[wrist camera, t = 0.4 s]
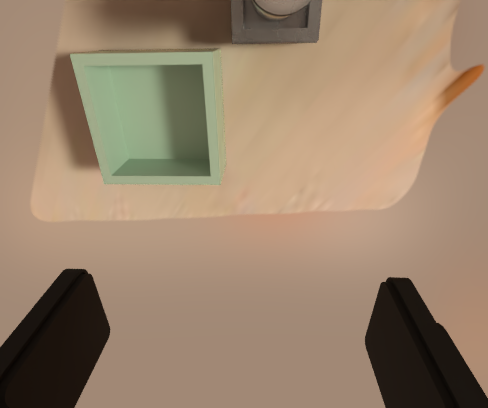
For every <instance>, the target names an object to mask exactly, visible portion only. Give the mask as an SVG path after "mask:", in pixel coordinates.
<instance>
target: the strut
mask: <svg viewBox="0 0 488 408" xmlns="http://www.w3.org/2000/svg"><path fill="white" fill-rule="evenodd" d="M310 2H311V0H252V3H253V6H254V8H255V10H256V11H257V13H258V14H259V15H260V16H261V17H263V18H264V19H266V20H269V21H279V20H283V19H285V18H286V17H288V16H290V15H292V14H295V13H296V12H298V11H300V10H302V9H303V8H304V7H305V6H307V5H308V4H309V3H310Z"/></svg>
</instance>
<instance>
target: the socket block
mask: <svg viewBox="0 0 488 408" xmlns="http://www.w3.org/2000/svg"><path fill="white" fill-rule="evenodd" d="M321 6H322V0H311V2H310V3H309V4H308V5H307V6H305V7H304V8H303V9H302V10H300V11H298V12H296V13H295V14H292V15H290V16H288V17H286V18H285V19H283V20H279V21H269V20H266V19H264V18H263V17H261V16H260V15H259V14H258V13H257V11H256V10H255V8H254V6H253V3H252V0H231V21H232V44H261V43H317V41H318V39H319V28H320V17H321Z"/></svg>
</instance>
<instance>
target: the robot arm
mask: <svg viewBox="0 0 488 408" xmlns="http://www.w3.org/2000/svg"><path fill="white" fill-rule="evenodd" d="M109 335H110V326H109V323H108V320H107V318H106V314H105V312H104V309H103V306H102V303H101V300H100V297H99V294H98V291H97V288H96V286H95V283H94V280H93V277H92V275H91V274H88V272H87V271H86V270H85V269H65V270H64V271H63V272H62V273H61V274H60V275H59V276H58V277H57V279H56V280H55V281H54V282H53V284H52V285H51V286H50V287H49V289H48V290H47V291H46V292H45V293H44V295H43V296H42V297H41V298H40V299H39V301H38V302H37V303H36V304H35V306H34V307H33V308H32V310H31V311H30V312H29V313H28V314H27V315H26V317H25V318H24V319H23V320H22V321H21V323H20V324H19V325H18V326H17V328H16V329H15V330H14V331H13V332H12V334H11V335H10V336H9V338H8V339H7V340H6V341H5V342H4V344H3V345H2V346H1V347H0V408H74V407H75V405H76V403H77V401H78V399H79V397H80V395H81V393H82V391H83V389H84V387H85V385H86V383H87V381H88V379H89V377H90V375H91V373H92V371H93V369H94V367H95V365H96V363H97V361H98V359H99V357H100V355H101V353H102V350H103V348H104V346H105V344H106V342H107V340H108V338H109ZM365 345H366V349H367V352H368V355H369V358H370V361H371V364H372V368H373V370H374V373H375V376H376V379H377V383H378V386H379V389H380V392H381V395H382V398H383V401H384V404H385V407H386V408H488V398H487V397H486V395H485V393H484V392H483V390H482V388H481V387H480V385H479V384H478V382H477V380H476V378H475V377H474V375H473V374H472V372H471V371H470V369H469V367H468V366H467V364H466V362H465V361H464V359H463V357H462V356H461V354H460V352H459V351H458V349H457V347H456V346H455V344H454V343H453V341H452V339H451V338H450V336H449V334H448V333H447V331H446V330H445V329H444V327H443V326H442V325H440V324H439V323H436V321H435V320H434V318H433V316H432V315H431V313H430V311H429V310H428V308H427V306H426V305H425V303H424V301H423V300H422V298H421V296H420V295H419V293H418V291H417V290H416V288H415V286H414V285H413V283H412V281H411V280H410V279H409V278H391V277H389V278H388V279H387V280H386V282H382V283H381V285H380V288H379V291H378V295H377V298H376V302H375V305H374V309H373V312H372V316H371V319H370V323H369V326H368V329H367V332H366V336H365Z"/></svg>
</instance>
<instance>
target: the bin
mask: <svg viewBox="0 0 488 408" xmlns="http://www.w3.org/2000/svg"><path fill="white" fill-rule="evenodd" d="M70 58H71V61H72V65H73V69H74V73H75V76H76V80H77V84H78V88H79V91H80V95H81V99H82V103H83V106H84V110H85V114H86V118H87V121H88V125H89V129H90V133H91V136H92V140H93V144H94V148H95V151H96V155H97V159H98V163H99V166H100V170H101V174H102V178H103V181H104V184H159V185H221V181H222V178H223V174H224V170H225V166H226V152H225V131H224V111H223V90H222V69H221V49H167V50H103V51H91V52H82V53H73V54H70Z"/></svg>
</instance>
